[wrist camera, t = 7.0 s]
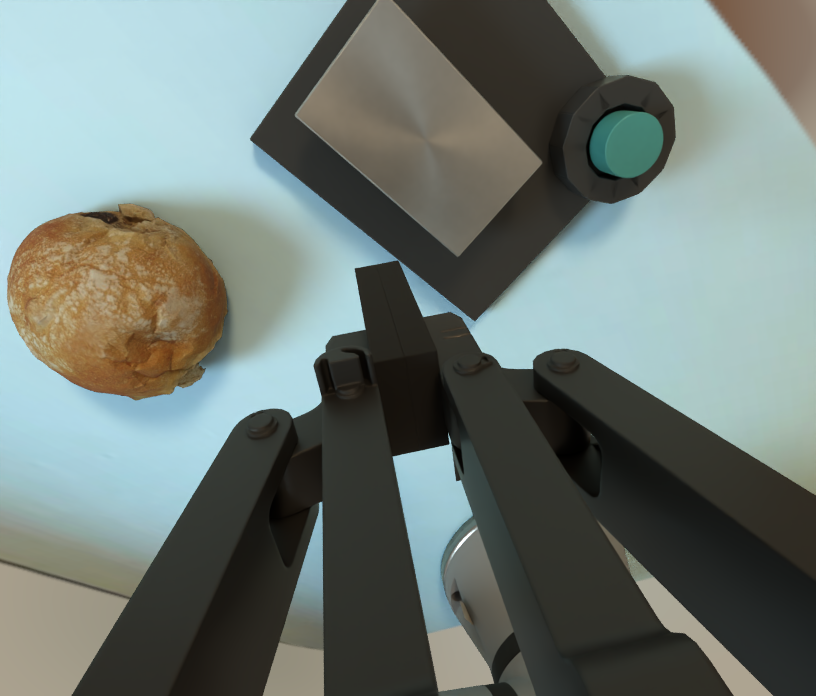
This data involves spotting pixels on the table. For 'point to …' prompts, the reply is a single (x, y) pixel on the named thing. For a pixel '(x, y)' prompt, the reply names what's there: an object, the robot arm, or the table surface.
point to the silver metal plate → (417, 128)
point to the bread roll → (117, 301)
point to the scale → (515, 102)
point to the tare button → (626, 143)
